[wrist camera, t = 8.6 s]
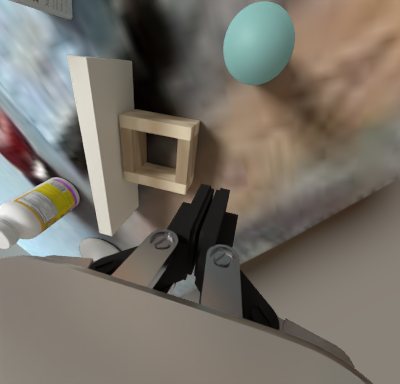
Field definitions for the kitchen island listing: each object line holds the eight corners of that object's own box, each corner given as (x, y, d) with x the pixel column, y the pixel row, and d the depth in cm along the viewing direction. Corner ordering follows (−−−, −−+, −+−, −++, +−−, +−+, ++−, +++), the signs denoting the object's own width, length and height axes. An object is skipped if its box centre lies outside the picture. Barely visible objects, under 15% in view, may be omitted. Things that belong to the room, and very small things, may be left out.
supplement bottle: (61, 206, 42) (-7, 253, 32) (44, 177, 39) (-38, 218, 29) (87, 205, 40) (24, 255, 29) (71, 174, 37) (-6, 217, 26)
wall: (132, 60, 25) (86, 57, 19) (138, 206, 37) (111, 236, 30) (117, 58, 26) (66, 54, 19) (128, 203, 37) (99, 232, 31)
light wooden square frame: (200, 120, 27) (191, 127, 23) (193, 181, 32) (185, 194, 28) (135, 109, 28) (118, 114, 25) (138, 169, 33) (124, 180, 29)
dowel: (283, 36, 21) (306, 4, 11) (271, 81, 23) (281, 89, 13) (244, 31, 21) (230, -2, 11) (236, 76, 24) (218, 80, 14)
